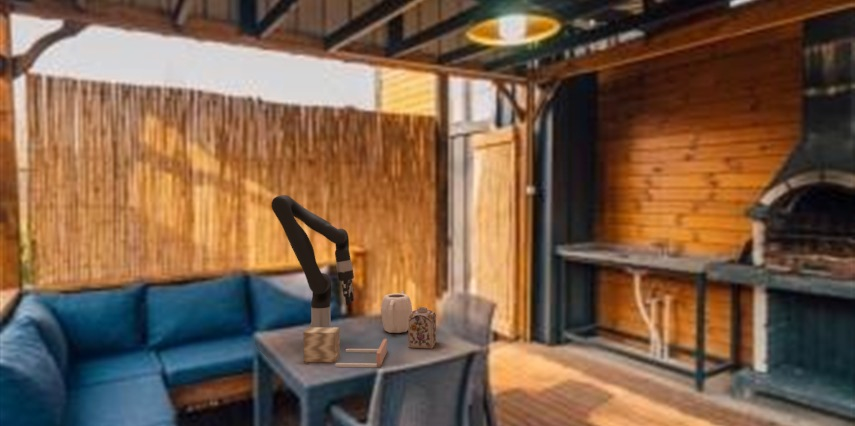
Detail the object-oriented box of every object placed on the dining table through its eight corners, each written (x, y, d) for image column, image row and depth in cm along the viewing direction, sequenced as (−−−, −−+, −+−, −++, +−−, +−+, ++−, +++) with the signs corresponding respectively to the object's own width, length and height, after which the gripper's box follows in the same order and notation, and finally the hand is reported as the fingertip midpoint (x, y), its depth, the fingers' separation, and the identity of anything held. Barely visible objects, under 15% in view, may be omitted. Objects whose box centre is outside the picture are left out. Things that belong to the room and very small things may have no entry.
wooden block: (303, 361, 268) (303, 332, 267) (309, 355, 277) (308, 327, 276) (335, 362, 267) (335, 332, 266) (339, 356, 276) (339, 327, 275)
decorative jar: (432, 349, 285) (432, 310, 284) (408, 348, 287) (407, 310, 286) (436, 342, 297) (436, 305, 296) (413, 341, 299) (412, 304, 298)
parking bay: (335, 366, 260) (335, 352, 260) (346, 351, 283) (346, 338, 282) (380, 367, 259) (379, 353, 258) (387, 351, 282) (387, 338, 281)
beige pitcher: (417, 324, 331) (417, 290, 330) (405, 337, 305) (405, 300, 304) (390, 323, 335) (389, 289, 334) (375, 336, 309) (375, 299, 308)
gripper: (340, 269, 304) (345, 301, 304) (334, 273, 289) (339, 307, 290) (354, 266, 303) (360, 299, 304) (350, 270, 289) (355, 304, 290)
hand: (350, 302), depth 297 cm, fingers open, 8 cm apart
